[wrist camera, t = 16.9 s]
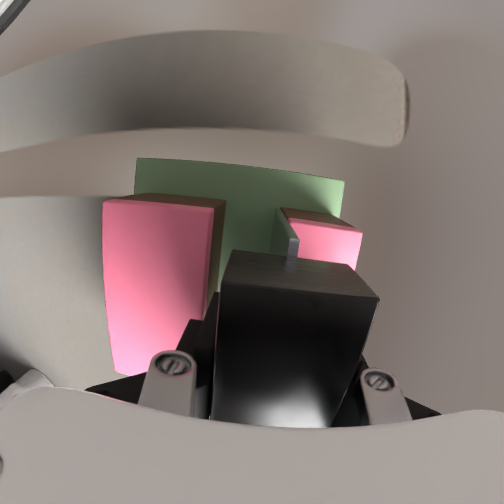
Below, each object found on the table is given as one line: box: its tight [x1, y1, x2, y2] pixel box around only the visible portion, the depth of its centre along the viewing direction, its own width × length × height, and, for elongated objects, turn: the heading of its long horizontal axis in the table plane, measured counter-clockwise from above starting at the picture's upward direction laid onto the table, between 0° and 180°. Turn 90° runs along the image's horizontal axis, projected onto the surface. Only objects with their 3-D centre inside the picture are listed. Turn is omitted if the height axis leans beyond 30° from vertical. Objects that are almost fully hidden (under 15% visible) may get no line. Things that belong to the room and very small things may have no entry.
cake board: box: [134, 158, 345, 292], centre depth 17 cm, size 13×12×1 cm
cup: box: [0, 369, 53, 409], centre depth 16 cm, size 7×7×12 cm
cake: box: [102, 192, 226, 376], centre depth 14 cm, size 9×5×5 cm, turn 173°
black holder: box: [210, 208, 380, 428], centre depth 11 cm, size 9×3×10 cm, turn 173°
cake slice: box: [280, 207, 362, 271], centre depth 14 cm, size 9×3×5 cm, turn 173°
